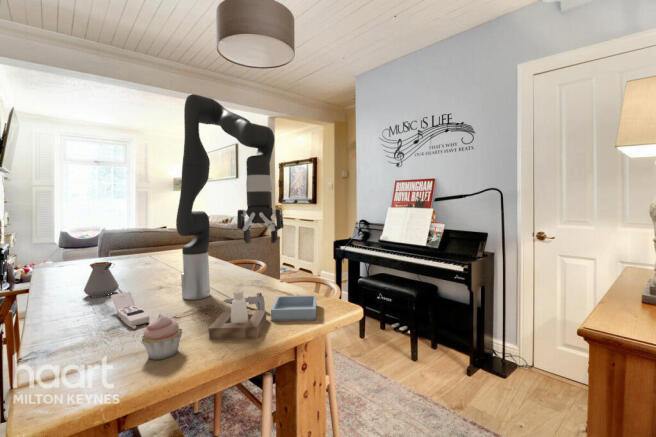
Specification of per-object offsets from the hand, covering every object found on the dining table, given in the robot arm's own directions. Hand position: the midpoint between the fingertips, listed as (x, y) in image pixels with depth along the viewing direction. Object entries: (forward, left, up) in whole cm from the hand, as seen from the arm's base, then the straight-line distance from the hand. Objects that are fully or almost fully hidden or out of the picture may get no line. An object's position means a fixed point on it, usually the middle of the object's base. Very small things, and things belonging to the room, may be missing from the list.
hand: (260, 242), depth 97 cm
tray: (+10, +4, -24) cm, 26 cm away
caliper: (-9, +12, -24) cm, 29 cm away
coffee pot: (-67, +26, -24) cm, 76 cm away
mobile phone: (-43, +3, -24) cm, 50 cm away
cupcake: (-20, -22, -24) cm, 38 cm away
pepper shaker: (-5, -8, -24) cm, 26 cm away
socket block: (-5, -8, -24) cm, 26 cm away
